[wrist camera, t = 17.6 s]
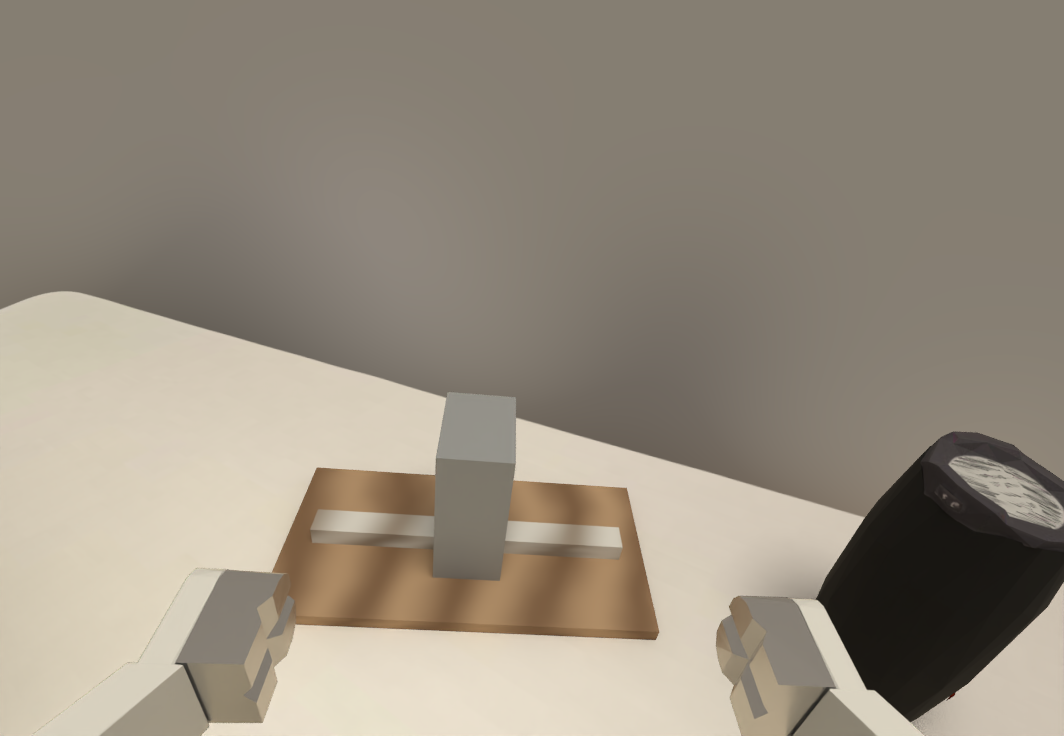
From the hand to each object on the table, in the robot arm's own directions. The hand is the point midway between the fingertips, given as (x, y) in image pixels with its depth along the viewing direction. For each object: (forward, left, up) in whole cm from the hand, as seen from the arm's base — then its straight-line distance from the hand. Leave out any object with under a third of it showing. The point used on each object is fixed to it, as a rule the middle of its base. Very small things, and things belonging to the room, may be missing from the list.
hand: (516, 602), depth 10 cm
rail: (-1, +23, -28) cm, 36 cm away
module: (-1, +23, -27) cm, 36 cm away
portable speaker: (+27, +14, -28) cm, 41 cm away
